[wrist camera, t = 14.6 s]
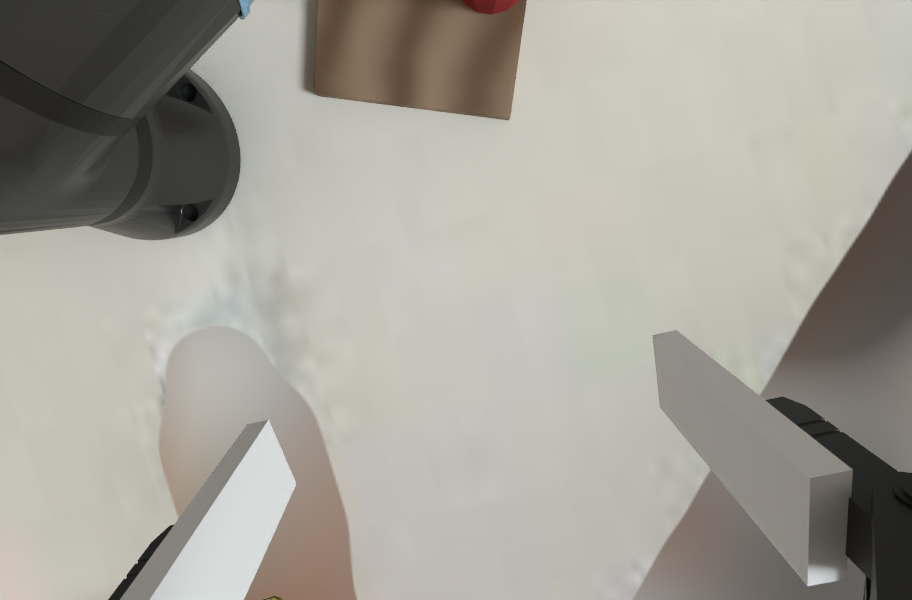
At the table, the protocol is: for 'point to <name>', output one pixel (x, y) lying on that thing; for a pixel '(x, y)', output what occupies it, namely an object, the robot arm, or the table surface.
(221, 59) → the table surface
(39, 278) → the table surface
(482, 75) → the walnut board
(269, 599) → the chocolate bunny
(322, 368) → the table surface
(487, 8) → the plastic cup
